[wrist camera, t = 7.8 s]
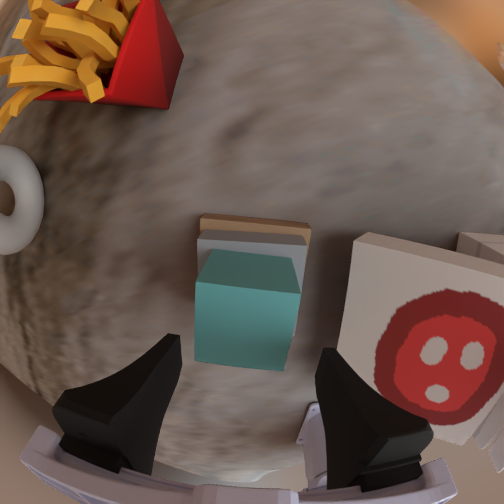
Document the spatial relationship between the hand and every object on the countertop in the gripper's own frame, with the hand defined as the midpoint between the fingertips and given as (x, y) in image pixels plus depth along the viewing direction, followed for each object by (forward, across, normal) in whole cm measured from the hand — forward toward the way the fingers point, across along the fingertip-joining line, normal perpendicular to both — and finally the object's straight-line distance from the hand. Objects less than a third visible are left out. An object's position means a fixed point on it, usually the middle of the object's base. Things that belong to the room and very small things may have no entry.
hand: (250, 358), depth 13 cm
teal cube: (+6, 0, -1) cm, 6 cm away
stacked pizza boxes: (+11, -22, +2) cm, 24 cm away
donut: (+10, +22, -7) cm, 26 cm away
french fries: (+10, +9, -15) cm, 20 cm away
